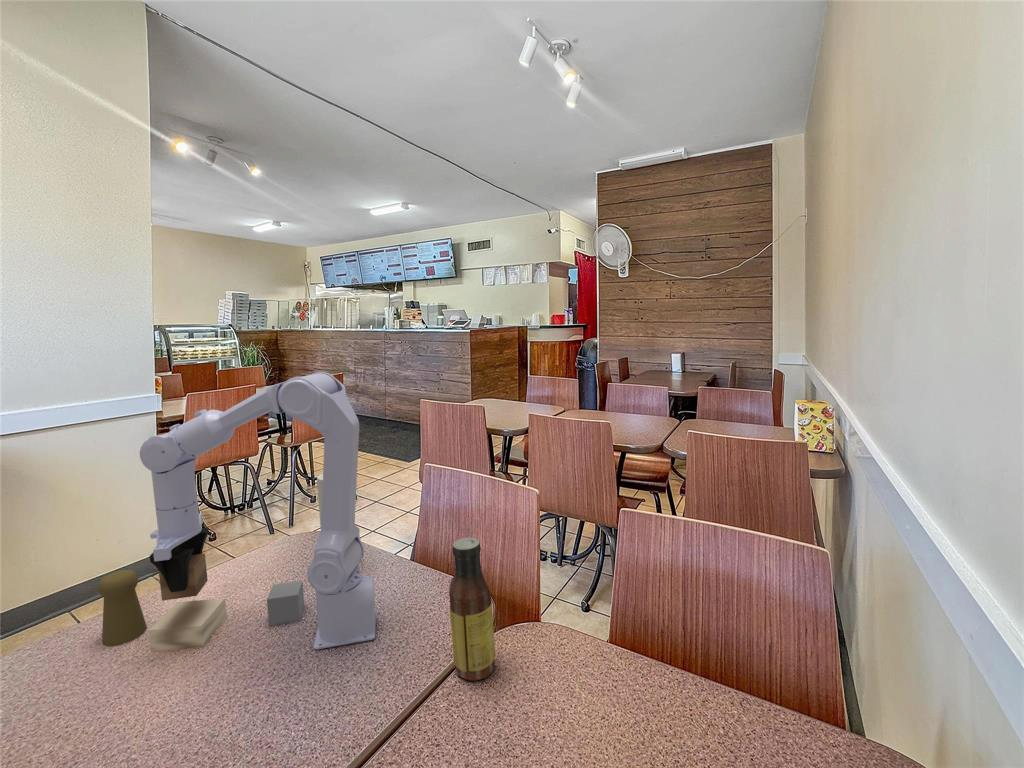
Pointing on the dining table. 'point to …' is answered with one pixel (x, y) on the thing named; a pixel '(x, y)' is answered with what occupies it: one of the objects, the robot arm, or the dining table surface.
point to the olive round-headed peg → (121, 608)
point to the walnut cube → (195, 579)
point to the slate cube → (285, 603)
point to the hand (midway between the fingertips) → (185, 581)
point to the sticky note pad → (188, 625)
